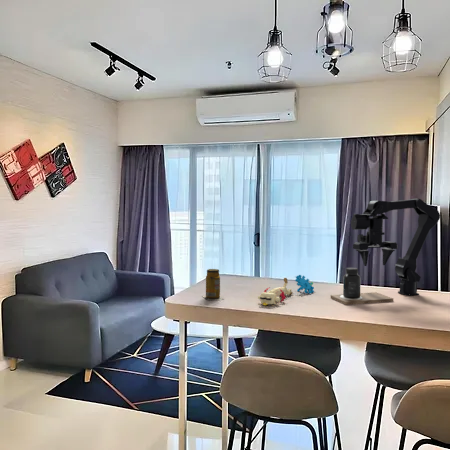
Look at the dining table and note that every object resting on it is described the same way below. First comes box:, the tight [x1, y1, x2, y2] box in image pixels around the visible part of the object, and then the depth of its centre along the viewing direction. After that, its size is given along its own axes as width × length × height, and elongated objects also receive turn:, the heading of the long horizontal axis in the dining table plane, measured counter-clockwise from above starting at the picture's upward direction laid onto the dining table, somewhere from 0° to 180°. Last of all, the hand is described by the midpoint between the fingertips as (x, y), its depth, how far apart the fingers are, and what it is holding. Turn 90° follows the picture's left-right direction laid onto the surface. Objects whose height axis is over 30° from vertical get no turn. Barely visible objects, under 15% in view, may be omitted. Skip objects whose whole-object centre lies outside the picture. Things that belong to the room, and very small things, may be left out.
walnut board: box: [330, 291, 394, 306], centre depth 182 cm, size 22×12×1 cm, turn 105°
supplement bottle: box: [342, 267, 361, 299], centre depth 180 cm, size 7×7×12 cm
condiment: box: [202, 268, 225, 301], centre depth 185 cm, size 7×8×12 cm
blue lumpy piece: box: [294, 274, 315, 295], centre depth 197 cm, size 11×6×10 cm
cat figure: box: [257, 277, 294, 306], centre depth 182 cm, size 10×9×25 cm
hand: (374, 265), depth 190 cm, fingers open, 9 cm apart
